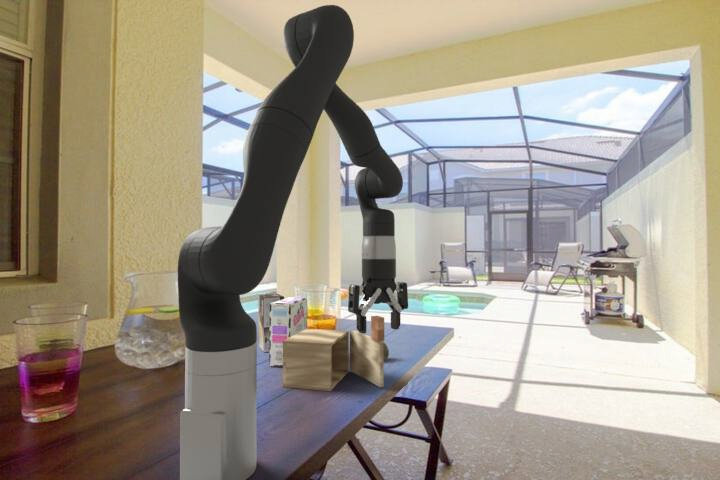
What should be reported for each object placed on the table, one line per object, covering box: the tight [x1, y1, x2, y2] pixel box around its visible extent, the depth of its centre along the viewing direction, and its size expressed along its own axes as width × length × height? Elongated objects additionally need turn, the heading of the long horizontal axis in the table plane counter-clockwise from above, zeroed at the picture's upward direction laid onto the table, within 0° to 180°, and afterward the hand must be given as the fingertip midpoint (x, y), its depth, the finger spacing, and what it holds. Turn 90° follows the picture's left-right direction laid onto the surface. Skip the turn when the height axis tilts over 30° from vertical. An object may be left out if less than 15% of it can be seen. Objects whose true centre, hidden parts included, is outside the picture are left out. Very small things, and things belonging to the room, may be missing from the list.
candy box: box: [268, 296, 308, 368], centre depth 110 cm, size 14×6×16 cm, turn 168°
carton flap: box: [349, 315, 385, 388], centre depth 93 cm, size 14×2×15 cm, turn 29°
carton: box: [282, 328, 350, 392], centre depth 94 cm, size 14×11×10 cm
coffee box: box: [257, 293, 285, 353], centre depth 123 cm, size 9×6×16 cm
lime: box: [383, 341, 390, 362], centre depth 110 cm, size 4×5×5 cm
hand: (379, 330), depth 89 cm, fingers open, 8 cm apart
